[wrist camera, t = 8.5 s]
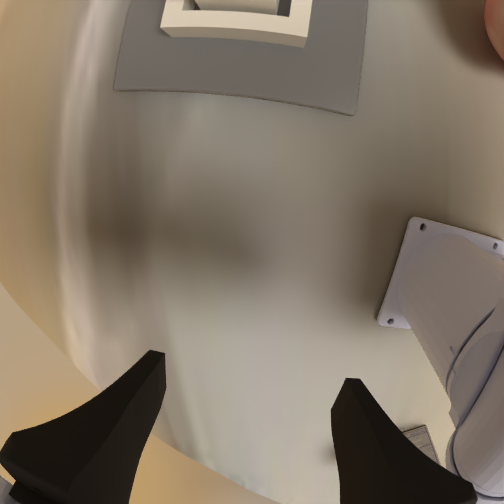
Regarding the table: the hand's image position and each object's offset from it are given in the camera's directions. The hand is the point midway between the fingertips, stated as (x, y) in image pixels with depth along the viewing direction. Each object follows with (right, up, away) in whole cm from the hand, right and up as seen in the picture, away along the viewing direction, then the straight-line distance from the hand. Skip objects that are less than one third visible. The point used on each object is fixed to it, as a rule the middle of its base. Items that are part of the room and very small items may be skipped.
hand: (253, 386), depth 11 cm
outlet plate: (0, +21, +2) cm, 21 cm away
